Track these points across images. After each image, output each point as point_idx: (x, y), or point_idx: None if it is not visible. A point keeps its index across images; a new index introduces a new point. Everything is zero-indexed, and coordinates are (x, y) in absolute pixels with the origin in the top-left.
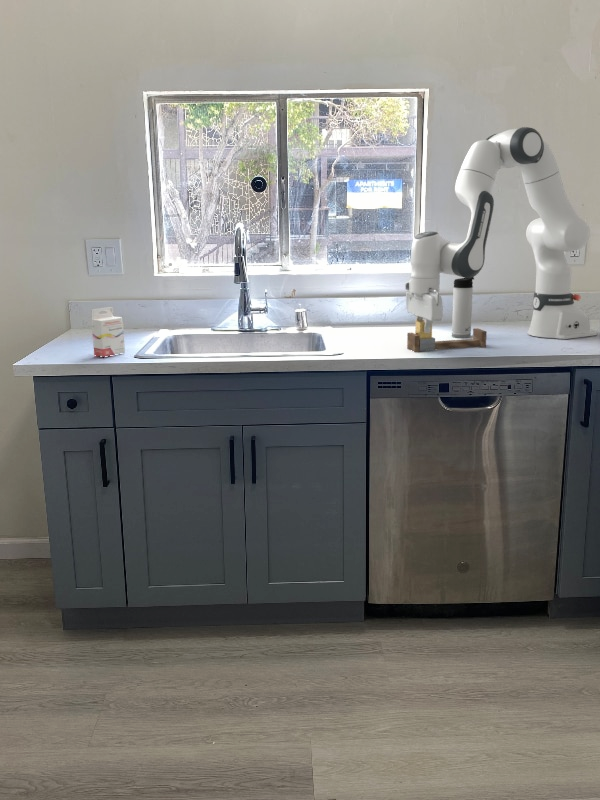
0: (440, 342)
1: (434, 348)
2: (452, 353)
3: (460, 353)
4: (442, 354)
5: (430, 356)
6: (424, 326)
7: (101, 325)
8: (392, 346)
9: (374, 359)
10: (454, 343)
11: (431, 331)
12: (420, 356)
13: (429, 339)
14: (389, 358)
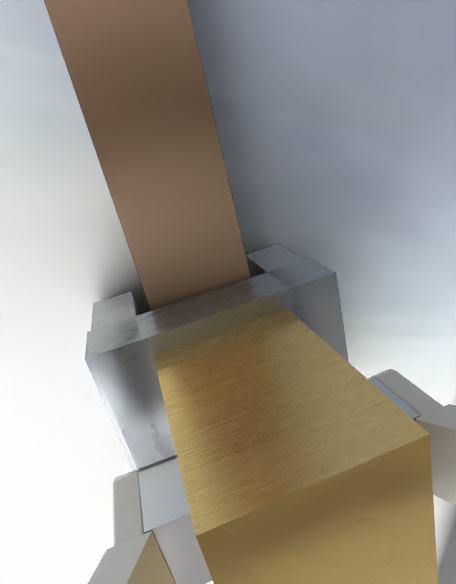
0: (199, 177)
1: (282, 249)
2: (401, 95)
3: (417, 12)
4: (416, 195)
5: (453, 294)
6: (440, 491)
7: None
8: (62, 561)
9: (437, 572)
10: None
11: (323, 347)
12: (435, 358)
13: (340, 332)
14: (436, 515)
